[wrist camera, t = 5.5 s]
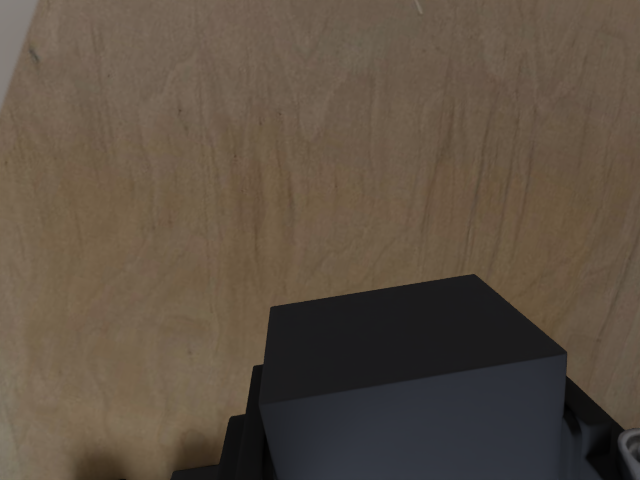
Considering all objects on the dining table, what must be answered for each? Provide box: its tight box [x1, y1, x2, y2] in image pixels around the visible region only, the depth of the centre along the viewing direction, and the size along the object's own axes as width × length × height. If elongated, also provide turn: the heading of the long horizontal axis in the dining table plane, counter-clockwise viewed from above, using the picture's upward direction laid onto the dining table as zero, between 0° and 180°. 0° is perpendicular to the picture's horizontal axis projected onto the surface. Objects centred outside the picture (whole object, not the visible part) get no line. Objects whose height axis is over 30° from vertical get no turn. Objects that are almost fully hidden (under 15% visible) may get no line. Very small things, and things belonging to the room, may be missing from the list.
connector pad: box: [259, 274, 567, 480], centre depth 11 cm, size 6×9×4 cm, turn 8°
